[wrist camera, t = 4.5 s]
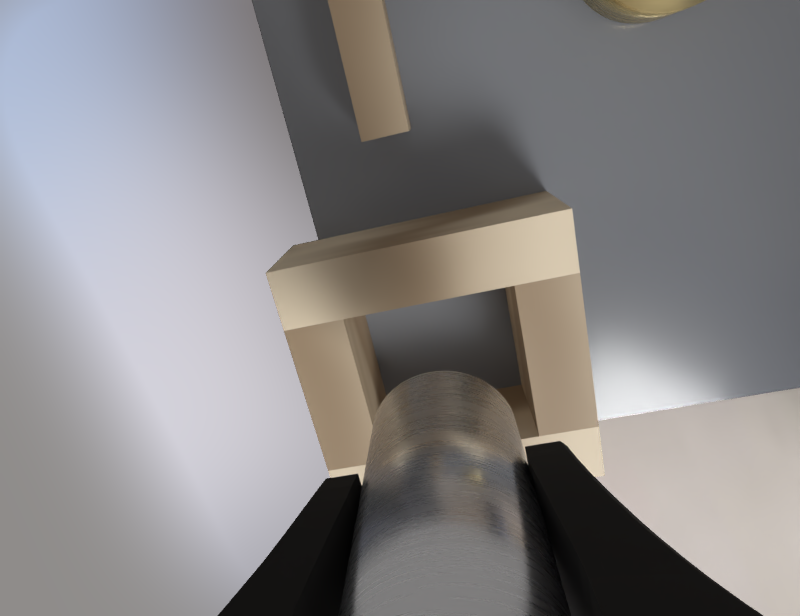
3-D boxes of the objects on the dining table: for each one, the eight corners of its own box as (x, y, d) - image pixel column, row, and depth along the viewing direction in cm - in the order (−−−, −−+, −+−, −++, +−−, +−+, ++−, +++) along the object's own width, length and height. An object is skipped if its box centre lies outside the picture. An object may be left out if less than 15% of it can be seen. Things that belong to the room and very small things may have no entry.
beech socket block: (546, 190, 16) (571, 208, 13) (577, 418, 18) (604, 475, 15) (293, 245, 17) (265, 272, 14) (355, 455, 19) (342, 515, 16)
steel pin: (513, 364, 11) (608, 638, 5) (520, 491, 12) (604, 837, 6) (363, 376, 11) (295, 650, 5) (381, 500, 12) (340, 841, 6)
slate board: (855, -301, 12) (873, -317, 12) (832, 373, 18) (843, 380, 17) (225, -111, 14) (218, -119, 14) (379, 448, 19) (378, 456, 19)
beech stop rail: (354, -144, 13) (343, -186, 11) (411, 128, 15) (409, 131, 13) (307, -130, 13) (287, -169, 12) (369, 138, 15) (361, 142, 14)
